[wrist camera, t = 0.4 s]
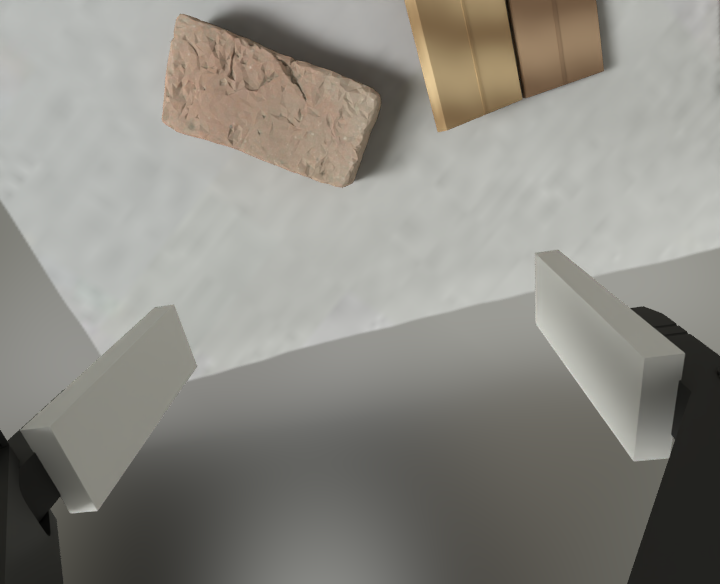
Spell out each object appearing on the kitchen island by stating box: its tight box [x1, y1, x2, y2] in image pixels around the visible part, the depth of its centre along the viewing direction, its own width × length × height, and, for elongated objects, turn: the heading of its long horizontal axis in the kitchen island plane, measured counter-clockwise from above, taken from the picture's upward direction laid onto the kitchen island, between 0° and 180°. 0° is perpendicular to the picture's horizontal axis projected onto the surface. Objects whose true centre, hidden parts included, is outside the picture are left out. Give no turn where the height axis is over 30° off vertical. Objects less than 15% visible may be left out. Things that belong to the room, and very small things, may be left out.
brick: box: [162, 14, 381, 188], centre depth 36 cm, size 17×8×5 cm, turn 71°
